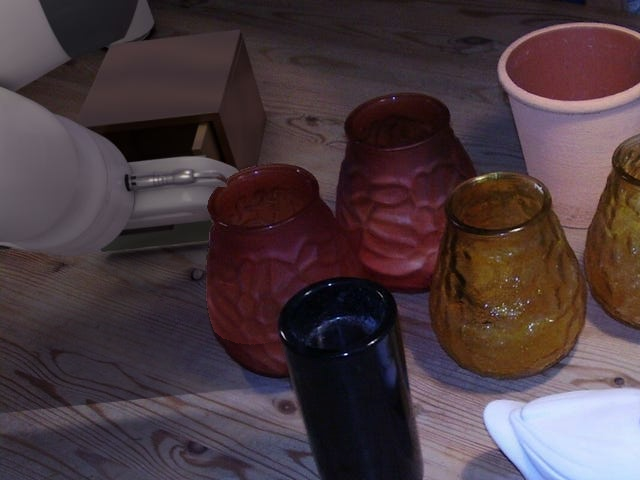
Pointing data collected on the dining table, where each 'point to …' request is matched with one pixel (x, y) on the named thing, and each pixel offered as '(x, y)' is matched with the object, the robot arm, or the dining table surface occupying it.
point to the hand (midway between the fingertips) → (139, 216)
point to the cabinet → (181, 90)
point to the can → (138, 24)
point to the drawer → (162, 145)
